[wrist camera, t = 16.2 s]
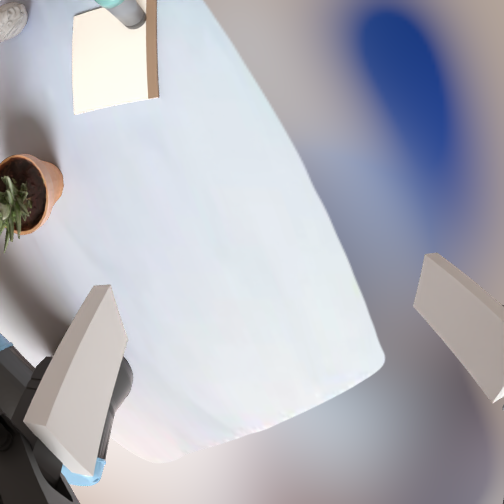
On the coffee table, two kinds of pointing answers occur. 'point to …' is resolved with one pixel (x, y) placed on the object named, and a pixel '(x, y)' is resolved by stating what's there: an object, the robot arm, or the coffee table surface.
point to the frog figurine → (12, 20)
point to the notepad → (113, 59)
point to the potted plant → (27, 194)
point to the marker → (125, 12)
